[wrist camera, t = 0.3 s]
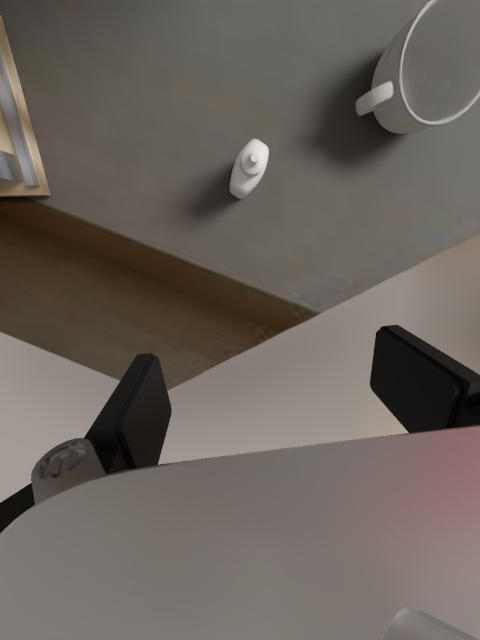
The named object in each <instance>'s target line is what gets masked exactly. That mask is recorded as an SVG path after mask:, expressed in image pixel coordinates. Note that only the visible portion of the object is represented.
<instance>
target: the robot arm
mask: <svg viewBox="0 0 480 640" xmlns="http://www.w3.org/2000/svg"><path fill="white" fill-rule="evenodd" d="M370 386H371V389H372V390H373V392H374V393H375V394H376V395H377V396H378V398H379V399H380V400H381V401H382V402H383V403H384V405H385V406H386V407H387V408H388V409H389V410H390V411H391V413H392V414H393V415H394V416H395V417H396V418H397V419H398V421H399V422H400V423H401V424H402V425H403V426H404V428H405V429H406V430H407V431H408V432H409V433H406V434H398V435H389V436H381V437H372V438H364V439H356V440H347V441H339V442H331V443H323V444H315V445H307V446H299V447H291V448H283V449H275V450H268V451H259V452H252V453H244V454H236V455H229V456H221V457H213V458H205V459H198V460H191V461H182V462H175V463H167V464H160V465H158V462H159V458H160V454H161V450H162V447H163V443H164V439H165V436H166V432H167V428H168V425H169V421H170V417H171V404H170V401H169V396H168V393H167V389H166V385H165V381H164V377H163V373H162V369H161V365H160V362H159V358H158V356H154V355H153V354H152V353H148V354H139V355H137V356H136V358H135V359H134V361H133V362H132V364H131V365H130V367H129V369H128V370H127V372H126V373H125V375H124V376H123V378H122V380H121V381H120V383H119V384H118V386H117V387H116V389H115V391H114V392H113V394H112V395H111V397H110V398H109V400H108V401H107V403H106V404H105V406H104V408H103V409H102V411H101V412H100V414H99V415H98V417H97V419H96V420H95V422H94V423H93V425H92V426H91V428H90V429H89V431H88V433H87V434H86V436H85V437H84V439H83V438H78V439H73V440H69V441H66V442H64V443H62V444H59V445H58V446H56V447H54V448H53V449H51V450H50V451H49V452H47V453H46V454H45V455H44V456H43V457H42V458H41V459H40V460H39V461H38V462H37V463H36V465H35V467H34V469H33V470H32V474H31V481H32V483H31V484H29V485H27V486H26V487H24V488H23V489H21V490H20V491H18V492H17V493H15V494H14V495H12V496H10V497H9V498H7V499H6V500H4V501H3V502H1V503H0V640H480V375H479V374H477V373H476V372H474V371H473V370H471V369H469V368H468V367H466V366H464V365H463V364H461V363H459V362H458V361H456V360H454V359H453V358H451V357H450V356H448V355H446V354H445V353H443V352H441V351H440V350H438V349H436V348H435V347H433V346H431V345H430V344H428V343H426V342H425V341H423V340H421V339H420V338H418V337H417V336H415V335H413V334H412V333H410V332H408V331H407V330H405V329H403V328H402V327H400V326H398V325H390V326H382V327H381V328H380V330H378V331H377V333H376V339H375V347H374V355H373V363H372V371H371V379H370Z"/></svg>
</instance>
